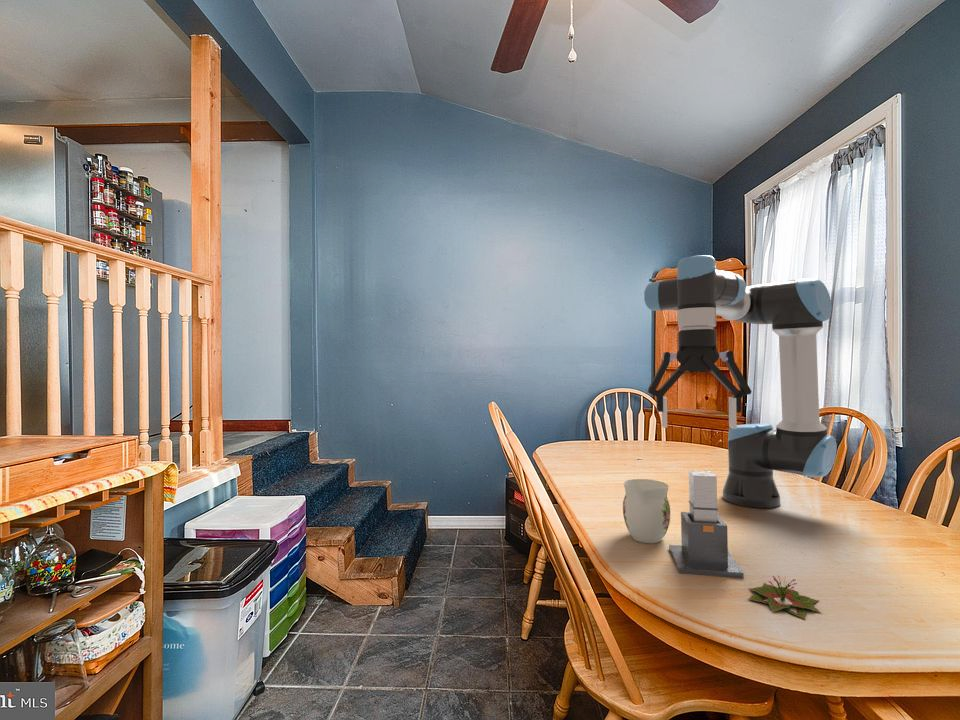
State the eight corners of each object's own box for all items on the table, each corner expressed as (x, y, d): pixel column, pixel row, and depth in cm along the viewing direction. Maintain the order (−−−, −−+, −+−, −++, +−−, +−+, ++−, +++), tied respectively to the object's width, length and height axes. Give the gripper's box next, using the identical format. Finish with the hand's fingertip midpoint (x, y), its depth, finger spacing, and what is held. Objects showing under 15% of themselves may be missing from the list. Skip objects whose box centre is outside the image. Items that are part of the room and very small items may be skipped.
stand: (726, 553, 105) (725, 510, 105) (743, 578, 93) (742, 530, 93) (669, 549, 107) (668, 508, 107) (679, 572, 96) (678, 526, 96)
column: (712, 553, 102) (711, 471, 102) (718, 562, 97) (717, 476, 97) (689, 551, 103) (688, 470, 103) (694, 560, 99) (693, 475, 98)
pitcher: (673, 527, 121) (672, 474, 121) (668, 554, 105) (667, 493, 105) (629, 521, 126) (628, 470, 126) (618, 546, 109) (617, 488, 109)
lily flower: (758, 580, 93) (757, 557, 93) (832, 604, 84) (831, 578, 84) (734, 602, 85) (734, 577, 85) (813, 631, 76) (813, 603, 76)
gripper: (755, 328, 102) (756, 426, 102) (634, 331, 107) (635, 424, 107) (767, 326, 94) (769, 431, 94) (637, 329, 100) (639, 428, 100)
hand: (698, 427), depth 101 cm, fingers open, 13 cm apart
